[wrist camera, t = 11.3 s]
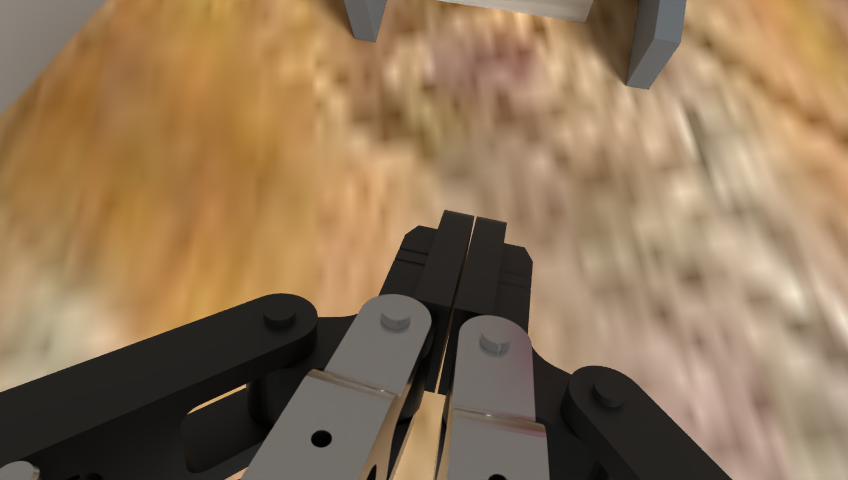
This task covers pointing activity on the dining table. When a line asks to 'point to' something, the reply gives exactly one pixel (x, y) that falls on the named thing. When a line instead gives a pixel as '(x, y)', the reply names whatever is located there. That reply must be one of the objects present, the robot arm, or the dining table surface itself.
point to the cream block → (538, 7)
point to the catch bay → (649, 49)
